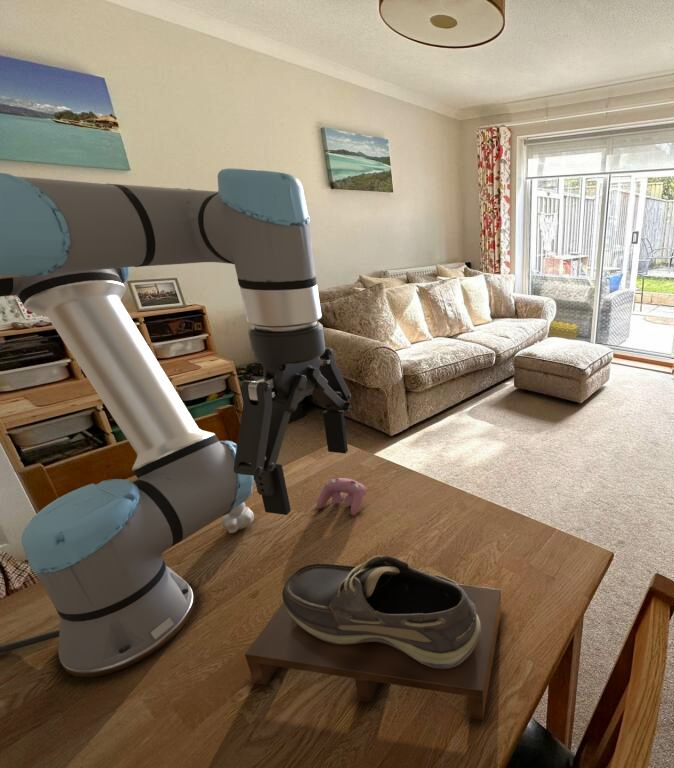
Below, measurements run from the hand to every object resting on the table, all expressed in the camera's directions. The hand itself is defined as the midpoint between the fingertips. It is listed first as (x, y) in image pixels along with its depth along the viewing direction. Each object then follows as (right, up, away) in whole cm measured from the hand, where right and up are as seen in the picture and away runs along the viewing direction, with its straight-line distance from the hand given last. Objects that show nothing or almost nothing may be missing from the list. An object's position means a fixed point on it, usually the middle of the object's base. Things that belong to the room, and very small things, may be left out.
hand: (311, 478), depth 54 cm
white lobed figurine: (-29, -17, +29) cm, 44 cm away
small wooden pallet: (+8, -27, +7) cm, 29 cm away
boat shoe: (+8, -22, +4) cm, 24 cm away
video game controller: (-11, -15, +36) cm, 41 cm away
